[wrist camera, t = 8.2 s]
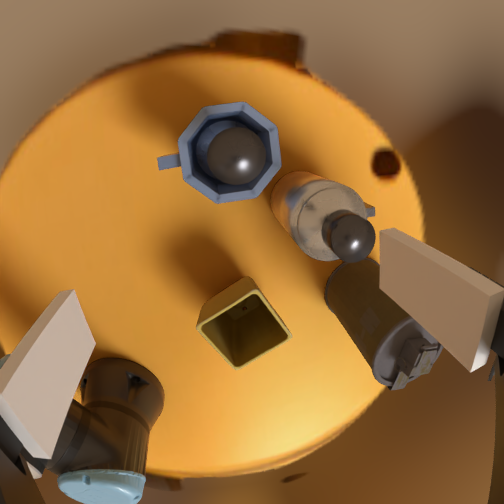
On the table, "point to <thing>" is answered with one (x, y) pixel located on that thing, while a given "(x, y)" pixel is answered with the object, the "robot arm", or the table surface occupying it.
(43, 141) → the table surface
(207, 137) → the plunger
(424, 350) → the canister
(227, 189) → the blue mug
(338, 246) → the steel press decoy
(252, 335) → the flower pot
